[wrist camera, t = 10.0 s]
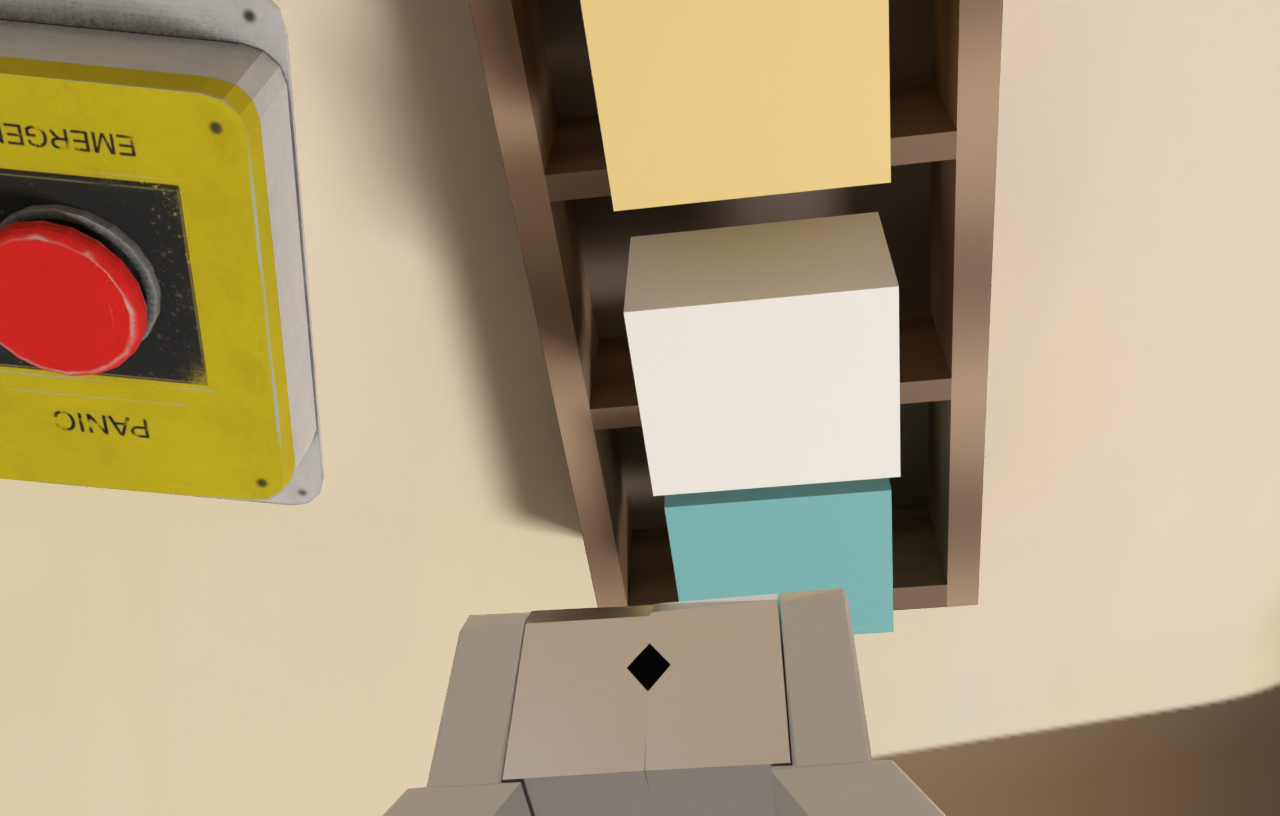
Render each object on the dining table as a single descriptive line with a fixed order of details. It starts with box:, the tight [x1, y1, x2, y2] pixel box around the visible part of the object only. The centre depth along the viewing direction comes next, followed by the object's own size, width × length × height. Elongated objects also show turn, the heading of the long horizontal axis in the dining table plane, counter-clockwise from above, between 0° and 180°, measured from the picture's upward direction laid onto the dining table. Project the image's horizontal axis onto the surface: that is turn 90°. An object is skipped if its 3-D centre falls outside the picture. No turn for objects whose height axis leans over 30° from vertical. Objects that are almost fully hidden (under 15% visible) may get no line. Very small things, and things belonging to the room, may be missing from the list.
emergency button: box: [0, 0, 324, 505], centre depth 29 cm, size 9×4×15 cm
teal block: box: [664, 478, 893, 634], centre depth 29 cm, size 4×5×4 cm
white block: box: [624, 212, 901, 496], centre depth 25 cm, size 4×5×4 cm
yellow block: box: [580, 0, 891, 211], centre depth 22 cm, size 4×5×4 cm
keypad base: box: [469, 0, 1003, 610], centre depth 28 cm, size 20×10×3 cm, turn 8°
